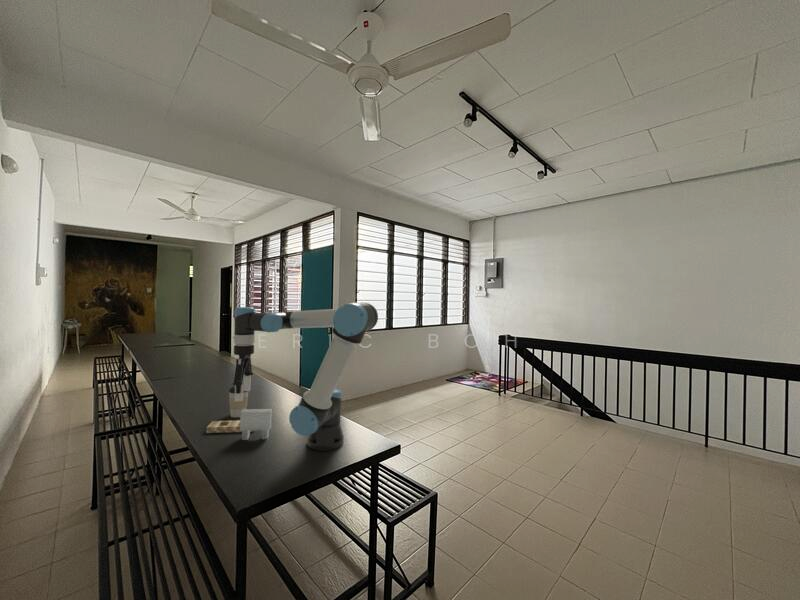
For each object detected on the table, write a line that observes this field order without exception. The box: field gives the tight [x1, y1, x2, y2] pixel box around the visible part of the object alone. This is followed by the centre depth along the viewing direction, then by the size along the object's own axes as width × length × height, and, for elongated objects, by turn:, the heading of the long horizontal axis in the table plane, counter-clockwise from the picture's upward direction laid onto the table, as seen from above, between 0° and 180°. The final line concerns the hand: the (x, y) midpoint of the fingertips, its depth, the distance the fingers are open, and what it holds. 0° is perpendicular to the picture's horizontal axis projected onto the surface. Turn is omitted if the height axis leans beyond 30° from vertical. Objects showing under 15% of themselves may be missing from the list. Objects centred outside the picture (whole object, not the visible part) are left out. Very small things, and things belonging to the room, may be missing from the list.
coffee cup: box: [228, 385, 249, 419], centre depth 163 cm, size 9×9×15 cm
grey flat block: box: [239, 408, 273, 441], centre depth 139 cm, size 12×3×12 cm, turn 101°
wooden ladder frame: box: [206, 419, 256, 434], centre depth 147 cm, size 20×7×2 cm, turn 101°
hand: (242, 395), depth 133 cm, fingers open, 13 cm apart
